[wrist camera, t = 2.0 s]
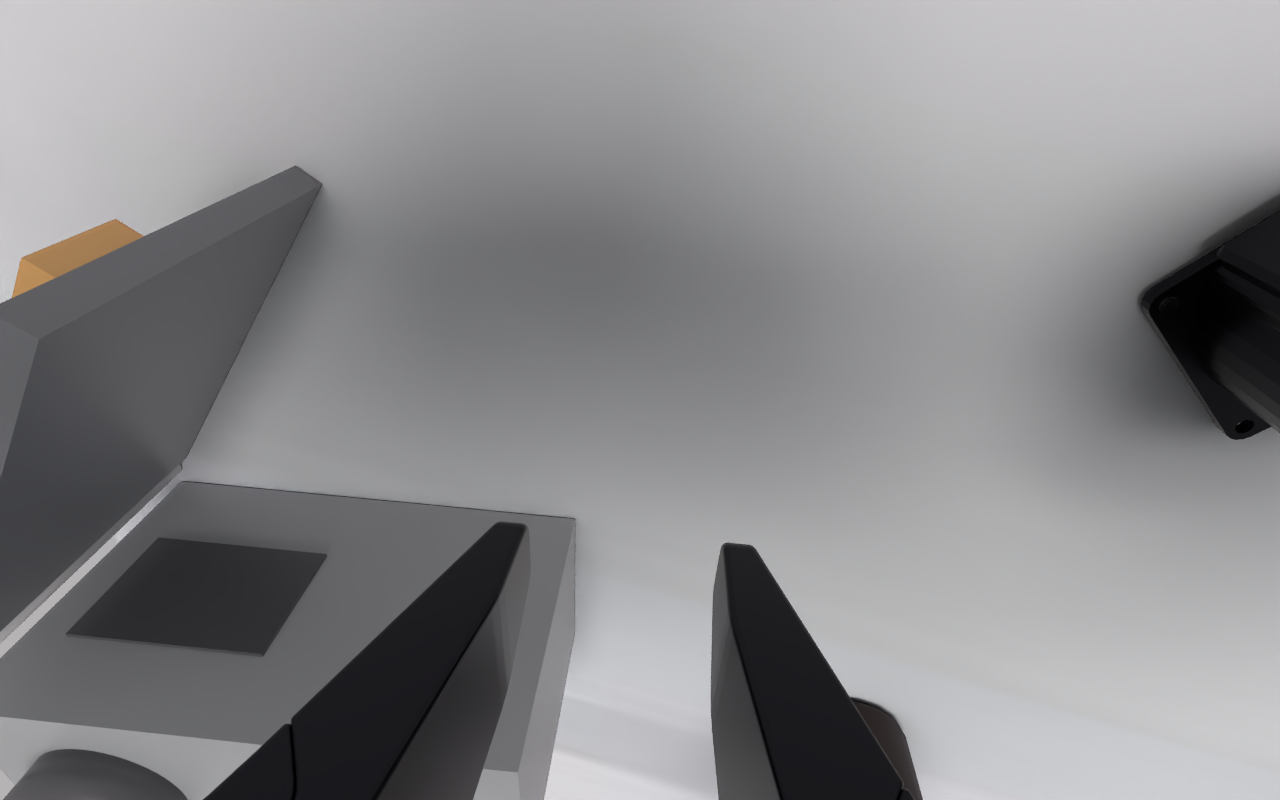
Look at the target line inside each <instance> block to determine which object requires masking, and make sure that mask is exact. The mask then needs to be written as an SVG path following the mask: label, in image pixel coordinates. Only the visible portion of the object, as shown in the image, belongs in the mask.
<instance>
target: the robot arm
mask: <svg viewBox="0 0 1280 800" xmlns="http://www.w3.org/2000/svg"><path fill="white" fill-rule="evenodd" d="M1169 297H1171V299H1170V301H1169V302H1168V303H1167V304H1166V305H1165V306H1162V307H1159V306H1160V304H1161V302H1162V301H1164V300H1165V299H1167V298H1169ZM1141 308H1142V311H1143V312H1144V314H1145V315H1146V317H1147V318H1148V320H1149V322H1150V323H1151V325H1152V326H1153V328H1154V329H1155V331H1156V332H1157V334H1158V336H1159V337H1160V339H1161V340H1162V342H1163V343H1164V345H1165V346H1166V348H1167V349H1168V351H1169V353H1170V354H1171V356H1172V357H1173V359H1174V360H1175V362H1176V363H1177V365H1178V367H1179V368H1180V370H1181V371H1182V373H1183V374H1184V376H1185V377H1186V379H1187V381H1188V382H1189V384H1190V385H1191V387H1192V388H1193V390H1194V391H1195V393H1196V394H1197V396H1198V398H1199V399H1200V401H1201V402H1202V404H1203V405H1204V407H1205V408H1206V410H1207V412H1208V413H1209V415H1210V416H1211V418H1212V419H1213V421H1214V422H1215V424H1216V426H1217V427H1218V428H1219V429H1220V430H1221V431H1222V432H1223V433H1225V434H1226V435H1227V436H1228V437H1229V438H1231V439H1235V440H1238V439H1245V438H1248V437H1251V436H1253V435H1255V434H1257V433H1259V432H1261V431H1263V430H1265V429H1267V428H1269V427H1271V426H1272V427H1273V428H1274V429H1276V430H1277V431H1278V432H1280V211H1278V212H1277V213H1275V214H1273V215H1272V216H1270V217H1268V218H1267V219H1265V220H1263V221H1262V222H1260V223H1258V224H1257V225H1255V226H1253V227H1252V228H1250V229H1248V230H1247V231H1245V232H1244V233H1242V234H1240V235H1239V236H1237V237H1235V238H1234V239H1232V240H1230V241H1229V242H1227V243H1225V244H1224V245H1222V246H1220V247H1219V248H1217V249H1215V250H1214V251H1212V252H1210V253H1209V254H1207V255H1206V256H1204V257H1202V258H1201V259H1199V260H1197V261H1196V262H1194V263H1192V264H1191V265H1189V266H1187V267H1186V268H1184V269H1182V270H1181V271H1179V272H1177V273H1176V274H1174V275H1172V276H1171V277H1169V278H1168V279H1166V280H1164V281H1163V282H1161V283H1159V284H1158V285H1156V286H1154V287H1153V288H1152V289H1150V290H1149V291H1148V292H1147V293H1146V294H1145V295H1144V297H1143V298H1142V302H1141ZM1241 421H1243V422H1241ZM1240 422H1241V423H1240ZM1238 423H1240V424H1238ZM1237 424H1238V425H1237ZM530 574H531V558H530V537H529V529H528V526H527V525H526V524H524V523H515V522H504V521H500V522H497V523H495V524H494V525H493V526H492V527H491V528H490V529H489V530H487V531H486V532H485V533H484V534H483V535H482V536H481V537H480V538H479V539H478V540H477V541H476V542H475V543H474V544H473V545H472V546H471V547H470V548H469V549H468V550H467V551H465V552H464V553H463V554H462V555H461V556H460V557H459V558H458V559H457V560H456V561H455V562H454V563H453V564H452V565H451V566H450V567H449V568H448V569H447V570H446V571H445V572H443V573H442V574H441V575H440V576H439V577H438V578H437V579H436V580H435V581H434V582H433V583H432V584H431V585H430V586H429V587H428V588H427V589H426V590H425V591H424V592H423V593H422V594H420V595H419V596H418V597H417V598H416V599H415V600H414V601H413V602H412V603H411V604H410V605H409V606H408V607H407V608H406V609H405V610H404V611H403V612H402V613H401V614H400V615H398V616H397V617H396V618H395V619H394V620H393V621H392V622H391V623H390V624H389V625H388V626H387V627H386V628H385V629H384V630H383V631H382V632H381V633H380V634H379V635H378V636H376V637H375V638H374V639H373V640H372V641H371V642H370V643H369V644H368V645H367V646H366V647H365V648H364V649H363V650H362V651H361V652H360V653H359V654H358V655H357V656H356V657H354V658H353V659H352V660H351V661H350V662H349V663H348V664H347V665H346V666H345V667H344V668H343V669H342V670H341V671H340V672H339V673H338V674H337V675H336V676H335V677H334V678H333V679H331V680H330V681H329V682H328V683H327V684H326V685H325V686H324V687H323V688H322V689H321V690H320V691H319V692H318V693H317V694H316V695H315V696H314V697H313V698H312V699H311V700H309V701H308V702H307V703H306V704H305V705H304V706H303V707H302V708H301V709H300V710H299V711H298V712H297V713H296V714H295V715H294V716H293V717H292V718H291V725H290V724H288V723H286V724H284V725H283V726H282V727H281V728H280V729H279V730H278V731H277V732H276V733H275V734H273V735H272V736H271V737H270V738H269V739H268V740H267V741H266V742H265V743H264V744H263V745H262V746H261V747H260V748H259V749H258V750H257V751H256V752H255V753H253V754H252V755H251V756H250V757H249V758H248V759H247V760H246V761H245V762H244V763H243V764H241V765H240V766H239V767H238V768H237V769H236V770H235V771H234V772H233V773H232V774H231V775H229V776H228V777H227V778H226V779H225V780H224V781H223V782H222V783H221V784H220V785H219V786H217V787H216V788H215V789H214V790H213V791H212V792H211V793H210V794H209V795H207V796H206V797H205V798H204V799H203V800H473V798H474V795H475V792H476V789H477V786H478V783H479V780H480V777H481V773H482V770H483V767H484V764H485V761H486V758H487V755H488V752H489V749H490V745H491V742H492V739H493V736H494V733H495V730H496V727H497V724H498V721H499V717H500V714H501V711H502V708H503V705H504V701H505V698H506V694H507V691H508V686H509V682H510V677H511V673H512V668H513V663H514V658H515V653H516V648H517V643H518V638H519V633H520V628H521V623H522V618H523V612H524V607H525V602H526V597H527V592H528V587H529V582H530ZM711 719H712V733H713V743H714V754H715V764H716V775H717V785H718V796H719V800H915V799H914V797H913V796H912V794H911V792H910V791H909V790H908V789H902V788H903V785H904V783H903V780H902V779H901V777H900V776H899V774H898V773H897V771H896V769H895V768H894V766H893V765H892V763H891V762H890V760H889V758H888V757H887V755H886V754H885V752H884V750H883V749H882V747H881V746H880V744H879V743H878V741H877V739H876V738H875V736H874V735H873V733H872V732H871V730H870V728H869V727H868V725H867V724H866V722H865V721H864V719H863V717H862V716H861V714H860V713H859V711H858V710H857V708H856V706H855V705H854V703H853V702H852V700H851V699H850V697H849V695H848V694H847V692H846V691H845V689H844V687H843V686H842V684H841V683H840V681H839V680H838V678H837V676H836V675H835V673H834V672H833V670H832V669H831V667H830V665H829V664H828V662H827V661H826V659H825V658H824V656H823V654H822V653H821V651H820V650H819V648H818V647H817V645H816V643H815V642H814V640H813V639H812V637H811V635H810V634H809V632H808V631H807V629H806V628H805V626H804V624H803V623H802V621H801V620H800V618H799V617H798V615H797V613H796V612H795V610H794V609H793V607H792V606H791V604H790V602H789V601H788V599H787V598H786V596H785V595H784V593H783V591H782V590H781V588H780V587H779V585H778V584H777V582H776V580H775V579H774V577H773V576H772V574H771V572H770V571H769V569H768V568H767V566H766V565H765V563H764V561H763V560H762V558H761V557H760V555H759V554H758V552H757V550H756V549H755V548H754V547H753V546H751V545H746V544H735V543H725V544H723V545H722V547H721V550H720V555H719V561H718V566H717V572H716V578H715V583H714V591H713V615H712V661H711Z"/></svg>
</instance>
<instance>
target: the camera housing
mask: <svg viewBox="0 0 1280 800" xmlns="http://www.w3.org/2000/svg"><path fill="white" fill-rule="evenodd" d="M500 521H504V522H515V523H524V524H526V525H527V526H528V529H529V537H530V558H531V574H530V582H529V587H528V592H527V597H526V602H525V607H524V612H523V618H522V623H521V628H520V633H519V638H518V643H517V648H516V653H515V658H514V663H513V668H512V673H511V677H510V682H509V686H508V691H507V694H506V698H505V701H504V705H503V708H502V711H501V714H500V717H499V721H498V724H497V727H496V730H495V733H494V736H493V739H492V742H491V745H490V749H489V752H488V755H487V758H486V761H485V764H484V767H483V770H482V773H481V777H480V780H479V783H478V786H477V789H476V792H475V795H474V798H473V800H544V796H545V791H546V785H547V780H548V775H549V769H550V764H551V759H552V753H553V748H554V742H555V737H556V732H557V726H558V721H559V716H560V710H561V705H562V700H563V694H564V689H565V684H566V678H567V673H568V668H569V662H570V657H571V652H572V646H573V641H574V636H575V519H569V518H558V517H548V516H537V515H527V514H516V513H506V512H496V511H485V510H475V509H464V508H454V507H444V506H433V505H423V504H412V503H402V502H391V501H381V500H371V499H360V498H350V497H339V496H329V495H319V494H308V493H298V492H287V491H277V490H266V489H256V488H246V487H235V486H225V485H214V484H204V483H194V482H183V481H182V482H181V483H180V484H179V485H178V486H176V487H175V488H174V489H173V490H172V491H171V492H170V493H169V494H168V495H167V496H166V497H165V498H164V499H163V500H162V501H161V502H160V503H159V504H158V505H157V506H156V507H155V508H154V509H153V510H152V511H151V512H150V513H149V514H148V515H147V516H146V517H145V518H144V519H143V520H142V521H141V522H140V523H139V524H138V525H137V526H136V527H134V528H133V529H132V530H131V531H130V532H129V533H128V534H127V535H126V536H125V537H124V538H123V539H122V540H121V541H120V542H119V543H118V544H117V545H116V546H115V547H114V548H113V549H112V550H111V551H110V552H109V553H108V554H107V555H106V556H105V557H104V558H103V559H102V560H101V561H100V562H99V563H98V564H97V565H96V566H95V567H93V568H92V569H91V570H90V571H89V572H88V573H87V574H86V575H85V576H84V577H83V578H82V579H81V580H80V581H79V582H78V583H77V584H76V585H75V586H74V587H73V588H72V589H71V590H70V591H69V592H68V593H67V594H66V595H65V596H64V597H63V598H62V599H61V600H60V601H59V602H58V603H57V604H56V605H55V606H54V607H53V608H52V609H51V610H49V611H48V612H47V613H46V614H45V615H44V616H43V618H41V619H40V620H39V621H38V622H37V623H36V624H35V625H34V626H33V627H32V628H31V629H30V630H29V631H28V632H27V633H26V634H25V635H24V636H23V637H22V638H21V639H20V640H19V641H18V642H17V643H16V644H15V645H14V646H13V647H12V648H11V649H9V650H8V651H7V653H5V654H4V655H3V656H2V657H1V658H0V769H1V770H2V771H3V772H4V774H5V775H6V776H7V777H8V778H9V779H10V780H11V781H12V782H13V783H14V785H15V786H14V787H13V789H12V790H11V791H10V792H9V793H8V795H7V796H6V797H5V798H4V799H3V800H203V799H204V798H205V797H206V796H207V795H209V794H210V793H211V792H212V791H213V790H214V789H215V788H216V787H217V786H219V785H220V784H221V783H222V782H223V781H224V780H225V779H226V778H227V777H228V776H229V775H231V774H232V773H233V772H234V771H235V770H236V769H237V768H238V767H239V766H240V765H241V764H243V763H244V762H245V761H246V760H247V759H248V758H249V757H250V756H251V755H252V754H253V753H255V752H256V751H257V750H258V749H259V748H260V747H261V746H262V745H263V744H264V743H265V742H266V741H267V740H268V739H269V738H270V737H271V736H272V735H273V734H275V733H276V732H277V731H278V730H279V729H280V728H281V727H282V726H283V725H284V724H286V723H288V724H290V725H291V718H292V717H293V716H294V715H295V714H296V713H297V712H298V711H299V710H300V709H301V708H302V707H303V706H304V705H305V704H306V703H307V702H308V701H309V700H311V699H312V698H313V697H314V696H315V695H316V694H317V693H318V692H319V691H320V690H321V689H322V688H323V687H324V686H325V685H326V684H327V683H328V682H329V681H330V680H331V679H333V678H334V677H335V676H336V675H337V674H338V673H339V672H340V671H341V670H342V669H343V668H344V667H345V666H346V665H347V664H348V663H349V662H350V661H351V660H352V659H353V658H354V657H356V656H357V655H358V654H359V653H360V652H361V651H362V650H363V649H364V648H365V647H366V646H367V645H368V644H369V643H370V642H371V641H372V640H373V639H374V638H375V637H376V636H378V635H379V634H380V633H381V632H382V631H383V630H384V629H385V628H386V627H387V626H388V625H389V624H390V623H391V622H392V621H393V620H394V619H395V618H396V617H397V616H398V615H400V614H401V613H402V612H403V611H404V610H405V609H406V608H407V607H408V606H409V605H410V604H411V603H412V602H413V601H414V600H415V599H416V598H417V597H418V596H419V595H420V594H422V593H423V592H424V591H425V590H426V589H427V588H428V587H429V586H430V585H431V584H432V583H433V582H434V581H435V580H436V579H437V578H438V577H439V576H440V575H441V574H442V573H443V572H445V571H446V570H447V569H448V568H449V567H450V566H451V565H452V564H453V563H454V562H455V561H456V560H457V559H458V558H459V557H460V556H461V555H462V554H463V553H464V552H465V551H467V550H468V549H469V548H470V547H471V546H472V545H473V544H474V543H475V542H476V541H477V540H478V539H479V538H480V537H481V536H482V535H483V534H484V533H485V532H486V531H487V530H489V529H490V528H491V527H492V526H493V525H494V524H495V523H497V522H500Z"/></svg>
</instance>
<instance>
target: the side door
mask: <svg viewBox="0 0 1280 800" xmlns="http://www.w3.org/2000/svg"><path fill="white" fill-rule="evenodd" d="M321 185H322V184H321V183H319V182H318V181H316V180H315V179H313V178H312V177H311V176H309V175H308V174H306V173H305V172H303V171H302V170H301V169H299V168H298V167H296V166H294V167H292V168H290V169H288V170H285V171H283V172H281V173H279V174H277V175H275V176H273V177H270V178H268V179H266V180H264V181H262V182H260V183H258V184H255V185H253V186H251V187H249V188H247V189H245V190H243V191H240V192H238V193H236V194H234V195H232V196H230V197H228V198H226V199H223V200H221V201H219V202H217V203H215V204H213V205H211V206H208V207H206V208H204V209H202V210H200V211H198V212H196V213H193V214H191V215H189V216H187V217H185V218H183V219H181V220H178V221H176V222H174V223H172V224H170V225H168V226H166V227H163V228H161V229H159V230H157V231H155V232H153V233H151V234H148V235H146V236H143V235H141V234H139V233H138V232H136V231H135V230H133V229H131V228H130V227H128V226H126V225H125V224H123V223H122V222H120V221H118V220H117V219H114V220H112V221H109V222H107V223H104V224H102V225H100V226H97V227H95V228H92V229H90V230H88V231H85V232H83V233H80V234H78V235H75V236H73V237H71V238H68V239H66V240H63V241H61V242H59V243H56V244H54V245H51V246H49V247H46V248H44V249H42V250H39V251H37V252H34V253H32V254H30V255H27V256H25V257H22V258H21V262H20V266H19V270H18V274H17V278H16V283H15V287H14V291H13V295H12V298H11V299H9V300H7V301H5V302H3V303H1V304H0V643H1V642H2V641H4V640H5V638H7V637H8V636H9V635H10V634H11V633H12V632H13V631H14V630H15V629H16V628H17V627H18V626H19V625H20V624H21V623H22V622H23V621H25V619H27V618H28V617H29V616H30V615H31V614H32V613H33V612H34V611H35V610H36V609H37V608H38V607H39V606H40V605H41V604H42V603H43V602H44V601H45V600H46V599H48V598H49V597H50V596H51V595H52V593H54V592H55V591H56V590H57V589H58V588H59V587H60V586H61V585H62V584H63V583H64V582H65V581H66V580H67V579H68V578H69V577H71V576H72V575H73V574H74V573H75V572H76V571H77V570H78V569H79V568H80V567H81V566H82V565H83V564H84V563H85V562H86V561H87V560H88V559H89V558H90V557H92V555H94V554H95V553H96V552H97V551H98V550H99V549H100V548H101V547H102V546H103V545H104V544H105V543H106V542H107V541H108V540H109V539H110V538H111V537H112V536H114V535H115V534H116V533H117V532H118V531H119V530H120V529H121V528H122V527H123V526H124V525H125V524H126V523H127V522H128V521H129V520H130V519H131V518H132V517H133V516H134V515H136V514H137V513H138V512H139V511H140V510H141V509H142V508H143V507H144V506H145V505H146V504H147V503H148V502H149V501H150V500H151V499H152V498H153V497H154V496H155V495H156V494H158V493H159V492H160V491H161V490H162V489H163V488H164V487H165V486H166V485H167V484H168V483H169V482H170V481H171V480H172V479H173V478H174V477H175V476H176V475H177V474H178V473H180V472H181V470H182V467H181V464H180V463H181V462H182V461H183V460H184V459H185V458H186V457H187V455H188V453H189V451H190V449H191V447H192V445H193V443H194V441H195V439H196V437H197V435H198V433H199V431H200V429H201V427H202V424H203V422H204V420H205V418H206V416H207V414H208V412H209V410H210V408H211V406H212V404H213V402H214V400H215V398H216V396H217V394H218V392H219V390H220V388H221V386H222V384H223V382H224V380H225V378H226V376H227V374H228V372H229V370H230V368H231V366H232V364H233V362H234V360H235V358H236V356H237V354H238V352H239V350H240V348H241V346H242V344H243V342H244V340H245V338H246V336H247V334H248V332H249V330H250V328H251V326H252V324H253V322H254V320H255V318H256V316H257V314H258V312H259V310H260V308H261V306H262V304H263V302H264V300H265V297H266V295H267V293H268V291H269V289H270V287H271V285H272V283H273V281H274V279H275V277H276V275H277V273H278V271H279V269H280V267H281V265H282V263H283V261H284V259H285V257H286V255H287V253H288V251H289V249H290V247H291V245H292V243H293V241H294V239H295V237H296V235H297V233H298V231H299V229H300V227H301V225H302V223H303V221H304V219H305V217H306V215H307V213H308V211H309V209H310V207H311V205H312V203H313V201H314V199H315V197H316V195H317V193H318V191H319V189H320V187H321Z"/></svg>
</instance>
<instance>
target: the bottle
mask: <svg viewBox="0 0 1280 800" xmlns="http://www.w3.org/2000/svg"><path fill="white" fill-rule="evenodd" d="M852 702H853V703H854V705H855V706H856V708H857V710H858V711H859V713H860V714H861V716H862V717H863V719H864V721H865V722H866V724H867V725H868V727H869V728H870V730H871V732H872V733H873V735H874V736H875V738H876V739H877V741H878V743H879V744H880V746H881V747H882V749H883V750H884V752H885V754H886V755H887V757H888V758H889V760H890V762H891V763H892V765H893V766H894V768H895V769H896V771H897V773H898V774H899V776H900V777H901V779H902V780H903V783H904V785H903V788H902V789H908V790H909V791H910V792H911V794H912V796H913V797H914V799H915V800H923V799H922V795H921V791H920V788H919V784H918V781H917V777H916V773H915V770H914V766H913V762H912V759H911V755H910V751H909V748H908V744H907V740H906V737H905V735H904V733H903V732H902V730H901V728H900V727H899V725H898V724H897V722H896V720H894V719H893V718H892V717H890V716H889V715H887V714H886V713H884V712H883V711H881V710H880V709H878V708H875V707H872V706H869V705H866V704H863V703H860V702H854V701H852Z"/></svg>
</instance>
